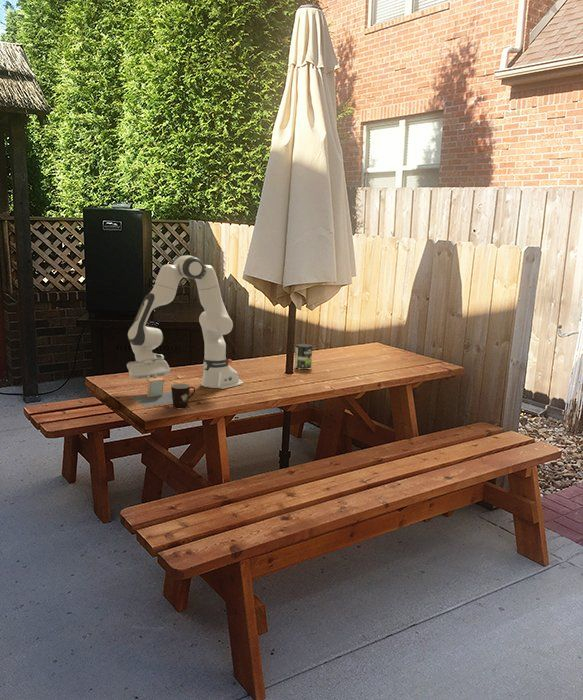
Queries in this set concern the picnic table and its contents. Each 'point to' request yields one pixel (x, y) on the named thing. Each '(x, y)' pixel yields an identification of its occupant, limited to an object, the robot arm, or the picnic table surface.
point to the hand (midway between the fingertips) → (154, 384)
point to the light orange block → (155, 387)
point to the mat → (154, 399)
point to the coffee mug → (180, 395)
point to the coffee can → (303, 356)
